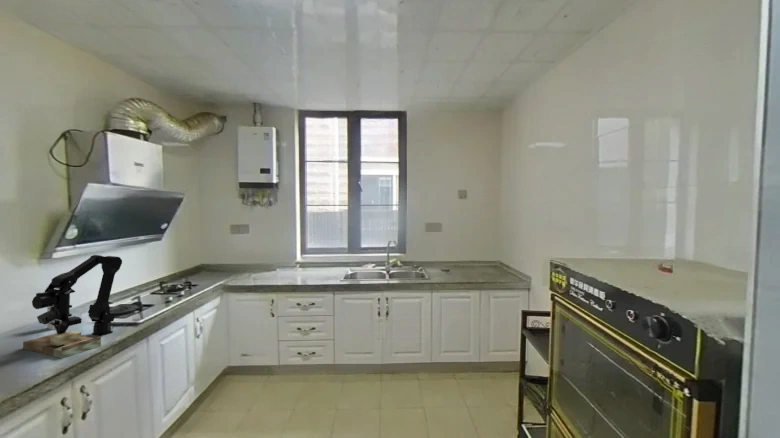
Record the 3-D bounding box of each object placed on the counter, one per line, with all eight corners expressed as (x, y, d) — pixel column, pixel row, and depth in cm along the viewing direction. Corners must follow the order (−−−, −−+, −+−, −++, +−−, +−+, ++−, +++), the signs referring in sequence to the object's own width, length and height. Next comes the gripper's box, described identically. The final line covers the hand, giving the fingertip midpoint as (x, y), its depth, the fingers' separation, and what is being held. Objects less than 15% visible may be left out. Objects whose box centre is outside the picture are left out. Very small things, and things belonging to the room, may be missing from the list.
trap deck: (62, 337, 189) (63, 328, 189) (100, 345, 181) (100, 336, 180) (23, 348, 174) (23, 338, 173) (62, 358, 165) (62, 347, 165)
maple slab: (74, 337, 181) (74, 330, 181) (80, 339, 179) (81, 332, 179) (50, 343, 172) (50, 336, 172) (56, 345, 171) (57, 338, 170)
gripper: (27, 304, 172) (26, 339, 173) (54, 310, 166) (53, 346, 167) (55, 299, 183) (54, 332, 183) (82, 305, 177) (81, 338, 177)
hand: (60, 337), depth 177 cm, fingers closed
